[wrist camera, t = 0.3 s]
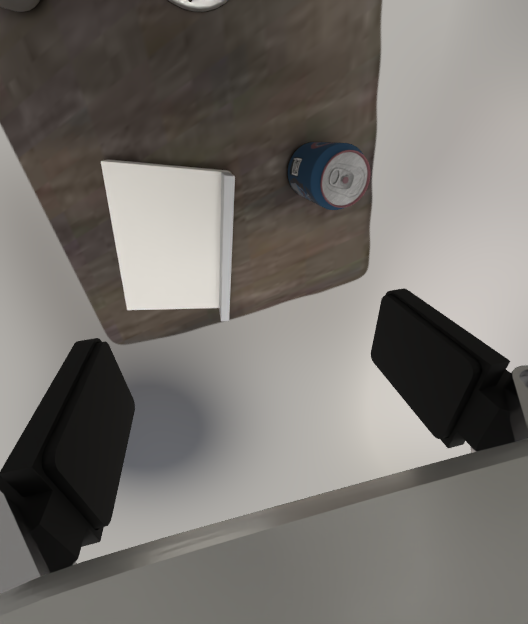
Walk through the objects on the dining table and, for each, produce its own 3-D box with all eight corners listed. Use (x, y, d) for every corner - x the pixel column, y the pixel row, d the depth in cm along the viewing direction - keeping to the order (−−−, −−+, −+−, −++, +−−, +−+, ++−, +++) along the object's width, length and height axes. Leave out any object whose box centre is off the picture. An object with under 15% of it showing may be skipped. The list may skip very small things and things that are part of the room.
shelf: (107, 159, 34) (90, 163, 29) (228, 170, 38) (234, 176, 32) (130, 300, 45) (121, 324, 39) (224, 298, 48) (229, 320, 42)
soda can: (337, 149, 40) (386, 153, 30) (321, 200, 43) (360, 219, 33) (293, 135, 37) (329, 134, 27) (279, 189, 41) (307, 206, 31)
